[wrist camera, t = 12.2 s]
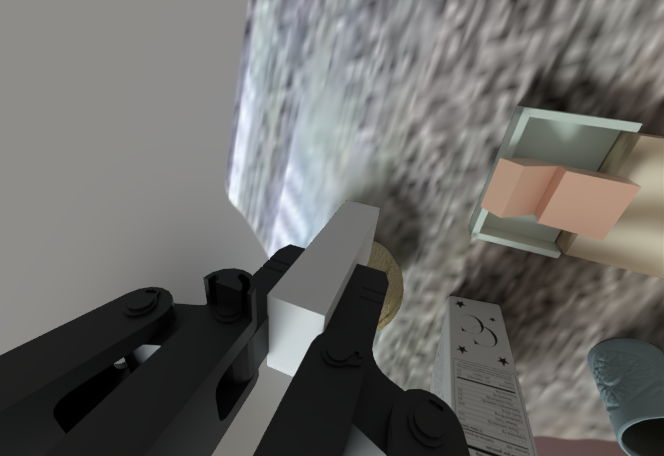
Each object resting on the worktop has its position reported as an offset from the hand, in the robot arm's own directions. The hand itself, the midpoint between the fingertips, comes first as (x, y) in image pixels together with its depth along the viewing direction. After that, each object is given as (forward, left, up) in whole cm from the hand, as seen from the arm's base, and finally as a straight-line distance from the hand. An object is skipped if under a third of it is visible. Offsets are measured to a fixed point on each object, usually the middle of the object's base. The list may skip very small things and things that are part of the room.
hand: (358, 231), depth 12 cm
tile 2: (+3, +14, -24) cm, 28 cm away
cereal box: (+34, +17, -30) cm, 48 cm away
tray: (+3, +16, -29) cm, 33 cm away
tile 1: (+3, +19, -26) cm, 32 cm away
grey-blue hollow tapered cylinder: (+26, +37, -30) cm, 54 cm away
